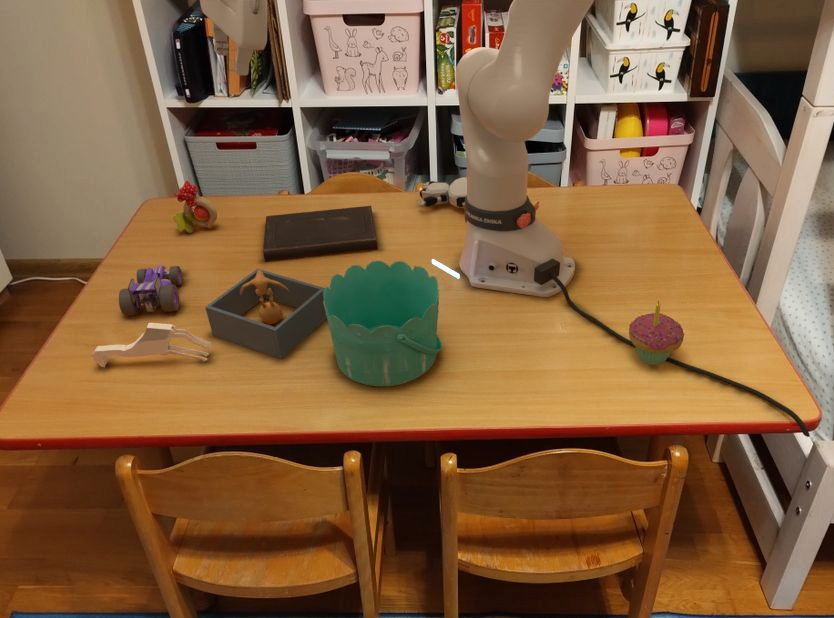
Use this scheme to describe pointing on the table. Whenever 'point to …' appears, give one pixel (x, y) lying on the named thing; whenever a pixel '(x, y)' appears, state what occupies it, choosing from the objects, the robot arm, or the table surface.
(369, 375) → the basket
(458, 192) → the robot toy
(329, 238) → the hardcover book
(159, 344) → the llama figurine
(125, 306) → the toy race car
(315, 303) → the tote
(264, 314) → the figurine
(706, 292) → the table surface
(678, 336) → the cupcake
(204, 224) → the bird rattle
